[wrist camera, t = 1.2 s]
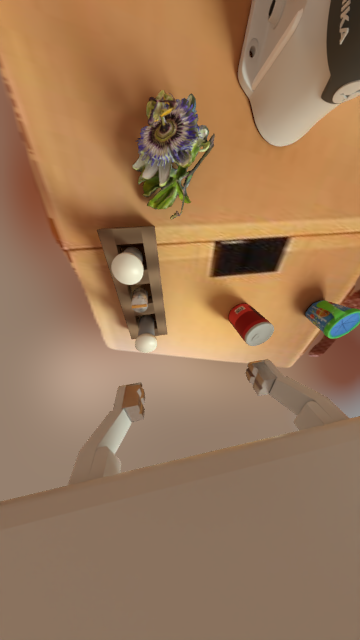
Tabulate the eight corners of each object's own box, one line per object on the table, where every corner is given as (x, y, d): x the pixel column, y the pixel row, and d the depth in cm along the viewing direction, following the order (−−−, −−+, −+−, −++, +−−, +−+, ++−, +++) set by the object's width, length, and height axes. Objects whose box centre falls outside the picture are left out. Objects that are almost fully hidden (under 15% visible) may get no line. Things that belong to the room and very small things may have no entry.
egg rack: (102, 228, 28) (96, 229, 25) (153, 225, 30) (154, 226, 26) (133, 330, 44) (131, 339, 40) (166, 325, 45) (167, 334, 41)
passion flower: (156, 152, 28) (186, 45, 17) (194, 203, 31) (238, 144, 21) (116, 184, 25) (122, 79, 14) (163, 236, 28) (197, 187, 18)
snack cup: (331, 312, 55) (364, 328, 46) (304, 328, 57) (330, 347, 49) (327, 284, 46) (365, 298, 38) (295, 305, 49) (325, 322, 41)
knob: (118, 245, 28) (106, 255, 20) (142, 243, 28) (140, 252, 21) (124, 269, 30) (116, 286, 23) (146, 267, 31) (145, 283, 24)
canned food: (223, 321, 48) (240, 345, 39) (234, 300, 44) (256, 321, 35) (243, 324, 50) (263, 347, 41) (255, 304, 46) (280, 324, 37)
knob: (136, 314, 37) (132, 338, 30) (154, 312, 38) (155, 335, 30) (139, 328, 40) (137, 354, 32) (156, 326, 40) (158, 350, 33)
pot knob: (132, 287, 33) (129, 300, 28) (146, 286, 33) (146, 298, 28) (135, 300, 35) (133, 314, 30) (148, 298, 35) (148, 312, 30)
